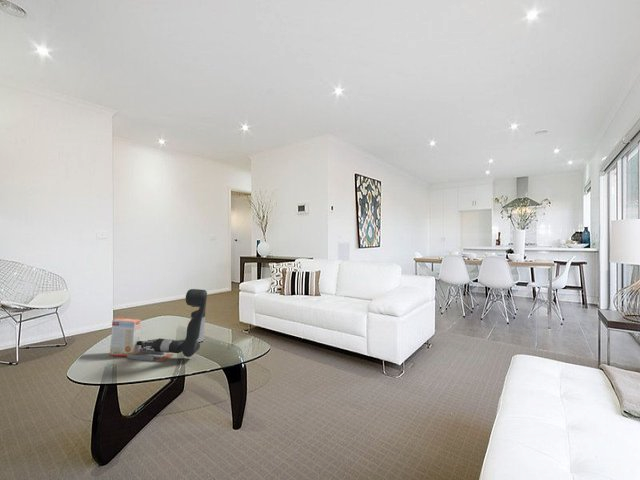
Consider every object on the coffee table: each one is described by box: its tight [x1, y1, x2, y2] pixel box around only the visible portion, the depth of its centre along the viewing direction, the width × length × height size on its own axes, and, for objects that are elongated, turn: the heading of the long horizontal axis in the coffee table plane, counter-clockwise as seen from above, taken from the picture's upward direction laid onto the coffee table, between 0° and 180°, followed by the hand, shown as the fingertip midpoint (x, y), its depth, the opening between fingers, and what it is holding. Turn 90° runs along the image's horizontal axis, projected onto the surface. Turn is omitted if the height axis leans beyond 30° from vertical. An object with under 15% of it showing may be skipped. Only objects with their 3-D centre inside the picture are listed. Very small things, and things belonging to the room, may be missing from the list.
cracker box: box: [109, 317, 142, 358], centre depth 178 cm, size 14×6×21 cm, turn 85°
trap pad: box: [155, 353, 175, 362], centre depth 177 cm, size 11×4×1 cm, turn 174°
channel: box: [126, 347, 165, 361], centre depth 178 cm, size 11×16×2 cm, turn 84°
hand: (137, 342), depth 179 cm, fingers closed
